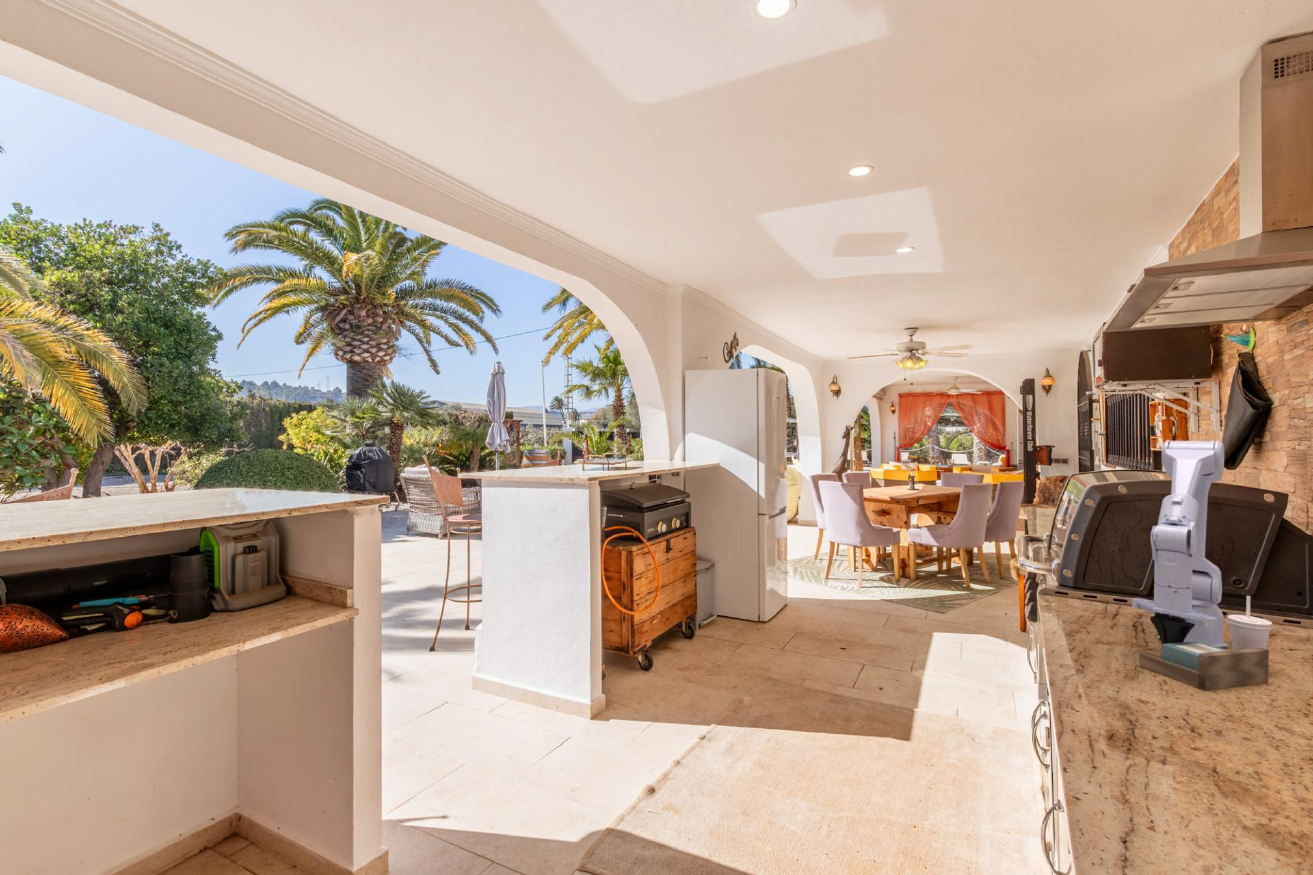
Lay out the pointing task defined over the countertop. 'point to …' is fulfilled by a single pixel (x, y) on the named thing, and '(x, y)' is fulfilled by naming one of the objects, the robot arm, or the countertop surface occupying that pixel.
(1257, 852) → the countertop surface
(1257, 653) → the display stand
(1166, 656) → the carton
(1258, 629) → the smoothie
